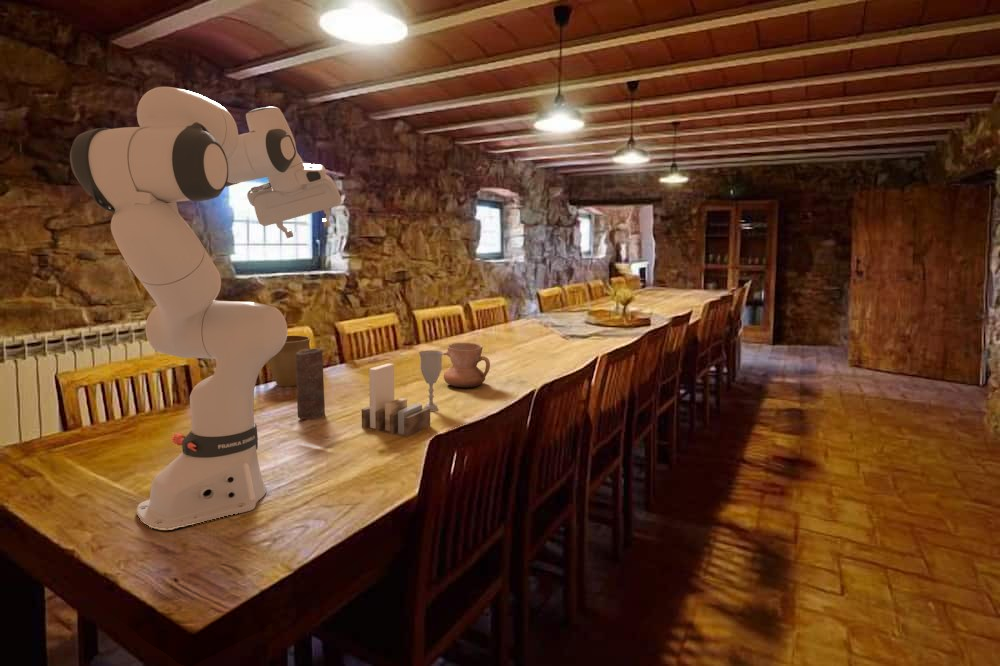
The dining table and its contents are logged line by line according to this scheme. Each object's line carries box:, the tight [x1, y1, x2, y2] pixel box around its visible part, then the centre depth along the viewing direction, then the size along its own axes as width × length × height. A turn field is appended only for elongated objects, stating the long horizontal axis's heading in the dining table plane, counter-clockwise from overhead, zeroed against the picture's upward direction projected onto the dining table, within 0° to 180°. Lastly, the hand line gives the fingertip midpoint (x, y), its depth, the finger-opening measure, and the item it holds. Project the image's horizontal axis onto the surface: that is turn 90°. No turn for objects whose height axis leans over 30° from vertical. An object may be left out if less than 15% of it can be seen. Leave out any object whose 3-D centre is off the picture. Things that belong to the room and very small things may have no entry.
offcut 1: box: [385, 397, 408, 431], centre depth 158 cm, size 7×2×7 cm, turn 153°
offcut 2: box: [398, 403, 423, 435], centre depth 156 cm, size 8×2×6 cm, turn 153°
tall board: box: [368, 363, 395, 429], centre depth 159 cm, size 8×2×16 cm, turn 153°
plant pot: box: [267, 335, 311, 388], centre depth 202 cm, size 15×15×16 cm
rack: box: [361, 405, 431, 438], centre depth 158 cm, size 10×15×6 cm, turn 63°
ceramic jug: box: [442, 342, 491, 389], centre depth 206 cm, size 18×14×14 cm
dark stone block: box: [296, 348, 326, 420], centre depth 165 cm, size 8×7×20 cm
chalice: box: [418, 349, 444, 412], centre depth 174 cm, size 7×7×18 cm
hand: (309, 231), depth 147 cm, fingers open, 8 cm apart
